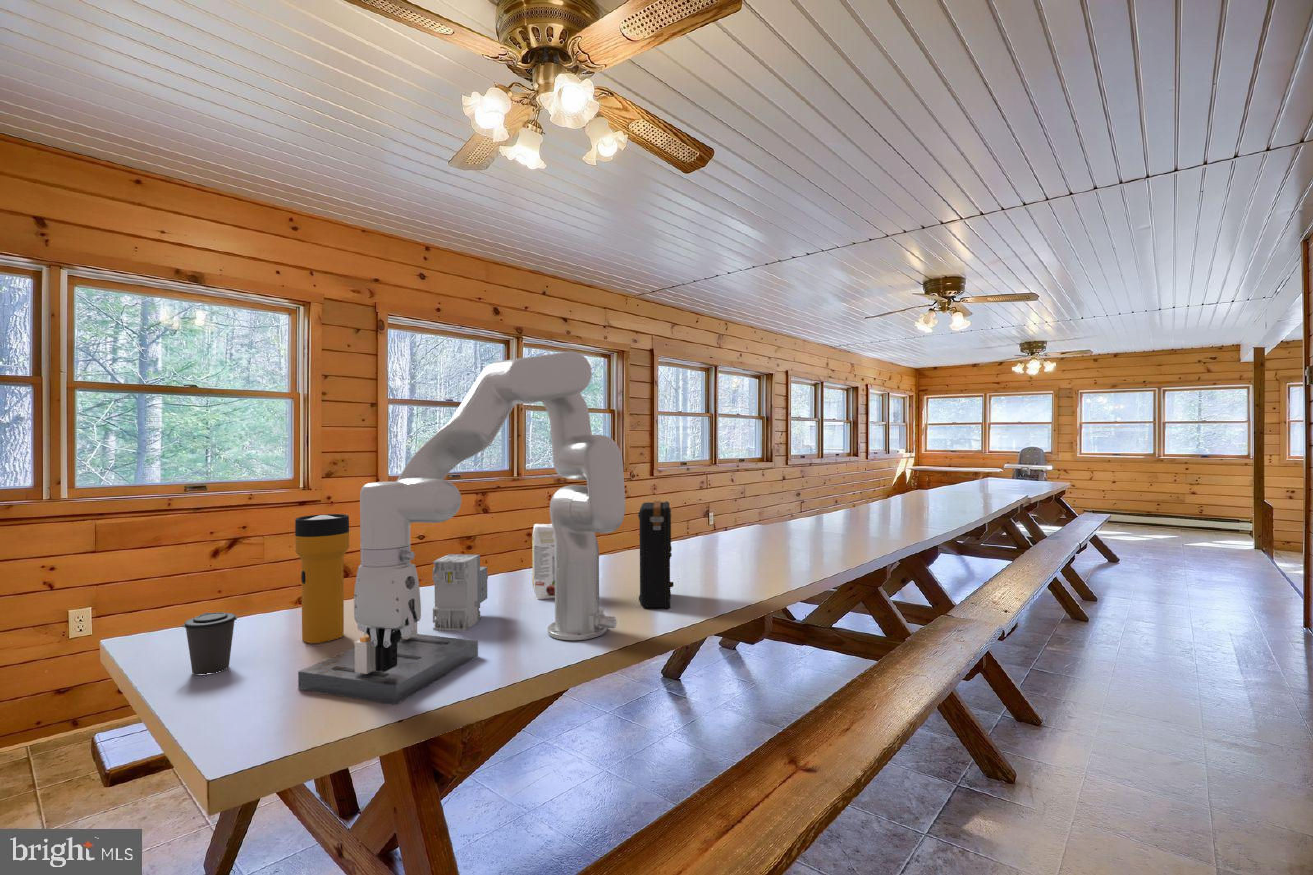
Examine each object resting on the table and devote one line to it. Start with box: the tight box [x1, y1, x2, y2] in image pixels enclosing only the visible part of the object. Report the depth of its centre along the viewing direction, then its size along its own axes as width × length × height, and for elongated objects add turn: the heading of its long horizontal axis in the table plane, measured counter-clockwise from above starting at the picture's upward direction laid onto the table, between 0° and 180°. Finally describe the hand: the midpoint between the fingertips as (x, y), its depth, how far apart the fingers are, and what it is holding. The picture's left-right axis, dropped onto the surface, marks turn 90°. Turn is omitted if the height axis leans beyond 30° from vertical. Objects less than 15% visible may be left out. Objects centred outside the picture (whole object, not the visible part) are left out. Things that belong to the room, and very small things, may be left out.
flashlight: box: [294, 513, 350, 644], centre depth 128 cm, size 10×26×10 cm
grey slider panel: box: [297, 631, 479, 705], centre depth 109 cm, size 20×22×3 cm
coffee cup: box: [182, 611, 238, 674], centre depth 110 cm, size 8×8×10 cm
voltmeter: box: [637, 500, 674, 610], centre depth 155 cm, size 16×9×25 cm, turn 179°
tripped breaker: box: [354, 635, 375, 674], centre depth 101 cm, size 2×3×6 cm
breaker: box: [401, 622, 418, 639], centre depth 118 cm, size 2×3×5 cm
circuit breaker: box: [432, 553, 489, 631], centre depth 140 cm, size 8×14×15 cm, turn 174°
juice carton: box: [531, 523, 555, 600], centre depth 161 cm, size 8×9×19 cm
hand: (386, 668), depth 100 cm, fingers closed
